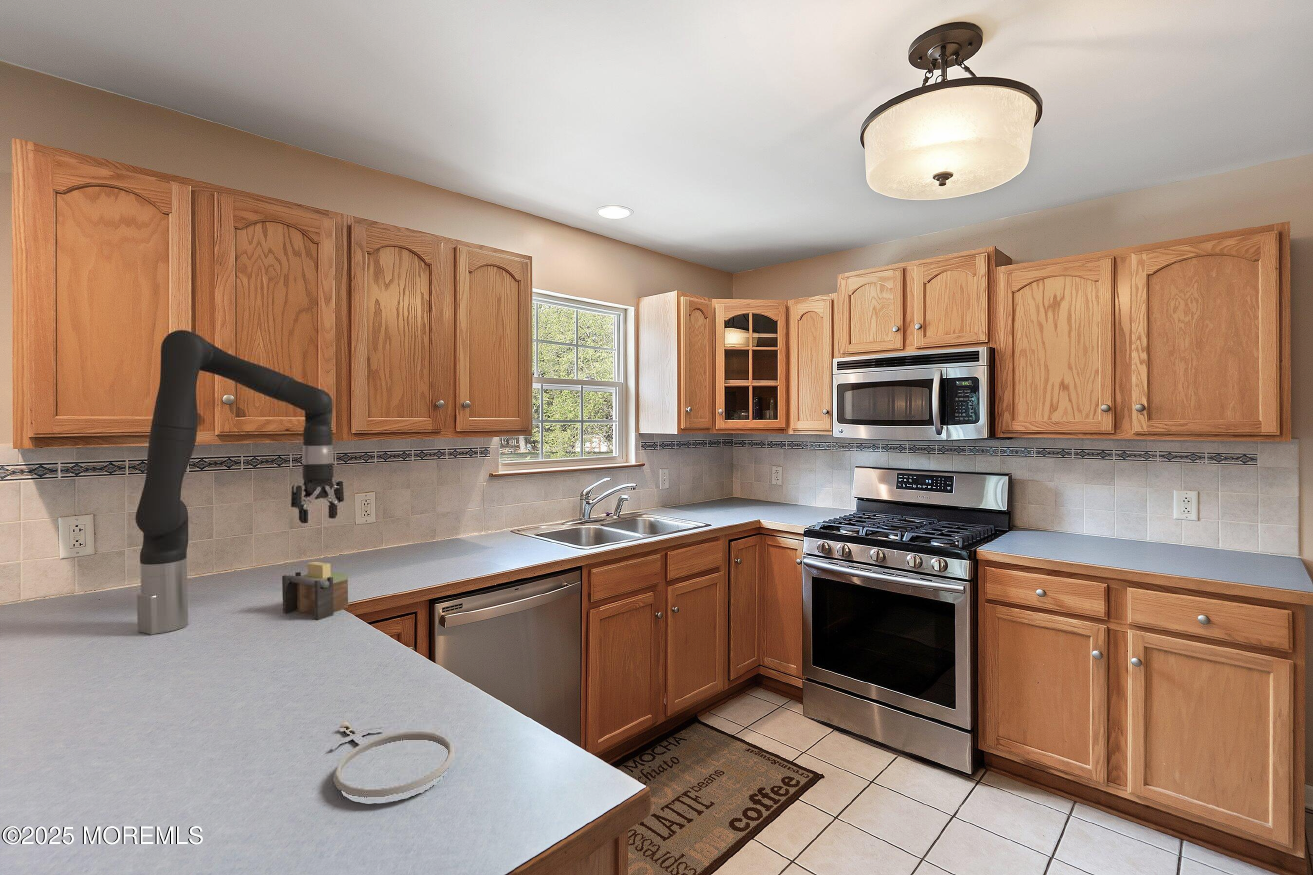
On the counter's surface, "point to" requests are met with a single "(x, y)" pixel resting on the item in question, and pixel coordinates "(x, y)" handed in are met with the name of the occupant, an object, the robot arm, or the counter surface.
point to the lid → (318, 575)
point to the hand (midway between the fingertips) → (318, 520)
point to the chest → (314, 597)
